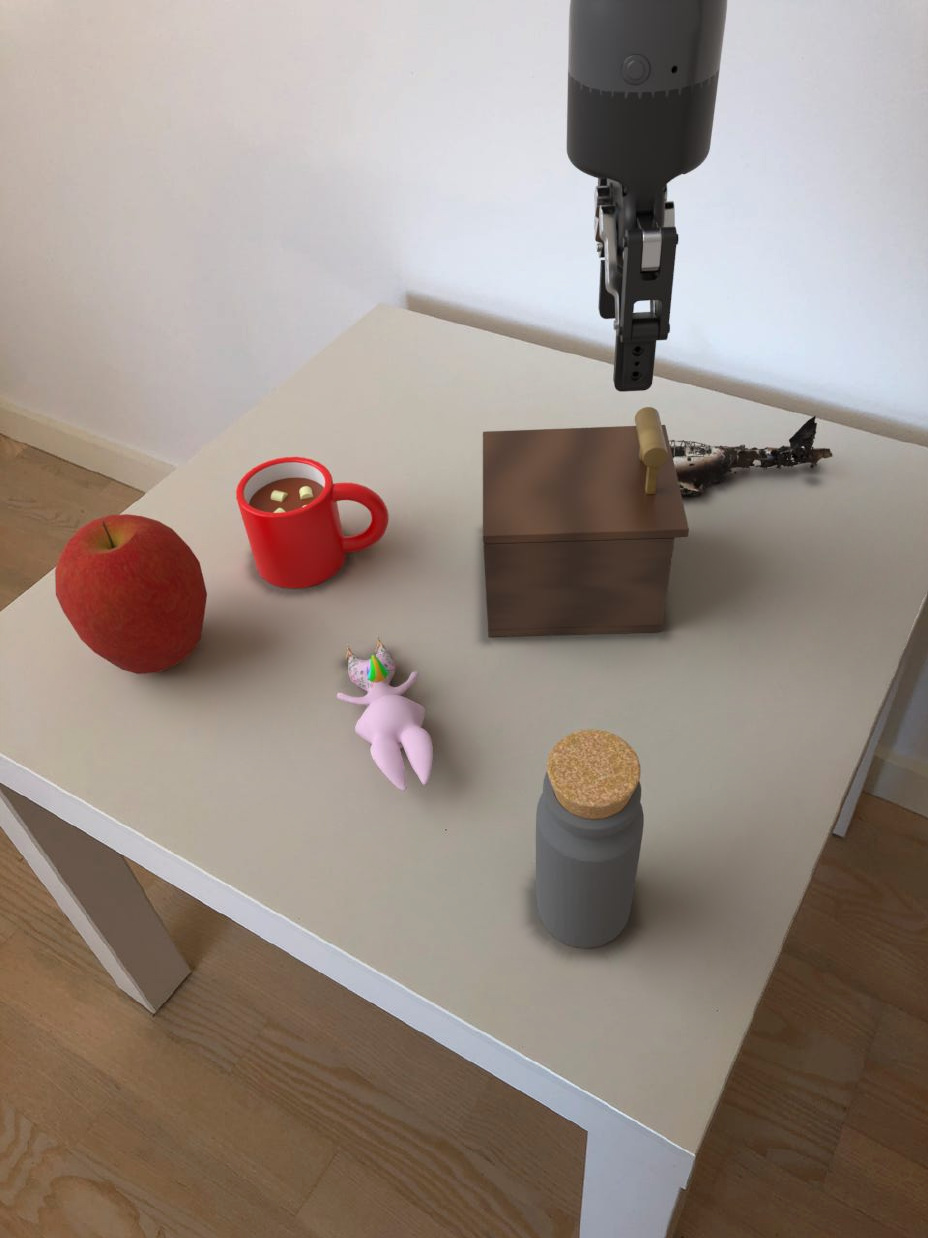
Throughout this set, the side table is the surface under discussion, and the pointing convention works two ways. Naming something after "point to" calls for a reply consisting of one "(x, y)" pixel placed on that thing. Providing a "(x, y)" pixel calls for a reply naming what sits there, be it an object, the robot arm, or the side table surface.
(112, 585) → the apple
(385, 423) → the side table surface
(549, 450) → the lid
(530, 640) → the side table surface
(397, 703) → the pink creature figurine
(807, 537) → the side table surface
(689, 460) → the airplane wreck
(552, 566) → the chest
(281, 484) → the mug
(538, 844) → the bottle
